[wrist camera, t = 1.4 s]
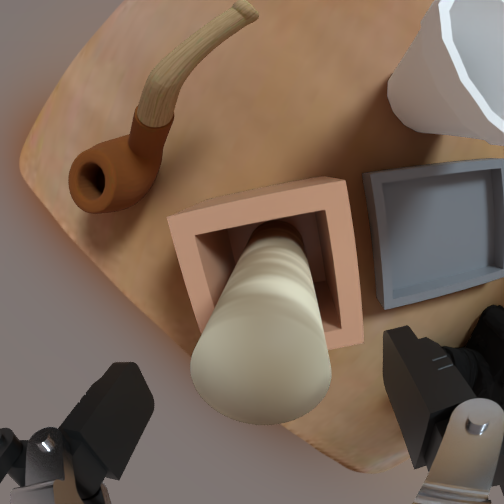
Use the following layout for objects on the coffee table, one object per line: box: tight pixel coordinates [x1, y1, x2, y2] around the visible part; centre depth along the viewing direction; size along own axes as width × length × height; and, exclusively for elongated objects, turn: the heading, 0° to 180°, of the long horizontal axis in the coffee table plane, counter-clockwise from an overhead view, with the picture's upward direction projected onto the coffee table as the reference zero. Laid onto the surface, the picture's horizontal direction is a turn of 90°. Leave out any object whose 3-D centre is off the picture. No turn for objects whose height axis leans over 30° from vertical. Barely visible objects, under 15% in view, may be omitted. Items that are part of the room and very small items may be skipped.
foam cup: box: [387, 0, 504, 146], centre depth 14 cm, size 10×9×13 cm
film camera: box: [441, 305, 504, 409], centre depth 22 cm, size 15×10×9 cm, turn 165°
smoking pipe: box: [69, 0, 259, 214], centre depth 18 cm, size 7×18×6 cm
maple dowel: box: [190, 220, 331, 425], centre depth 16 cm, size 4×4×16 cm
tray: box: [362, 158, 504, 310], centre depth 22 cm, size 14×11×2 cm
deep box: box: [167, 176, 364, 350], centre depth 21 cm, size 10×10×9 cm
